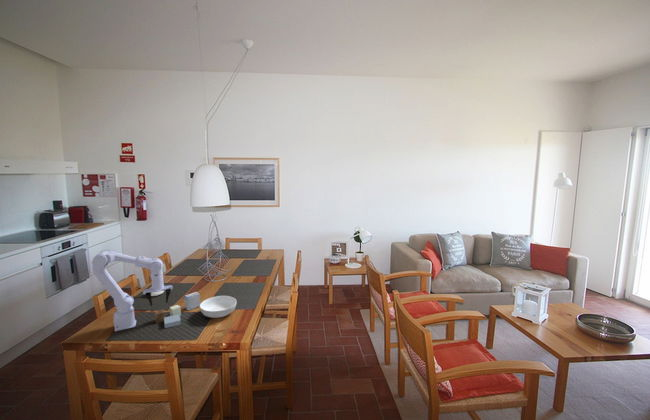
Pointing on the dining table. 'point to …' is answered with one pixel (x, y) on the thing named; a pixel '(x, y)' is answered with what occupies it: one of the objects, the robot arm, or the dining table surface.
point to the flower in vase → (156, 292)
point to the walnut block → (159, 316)
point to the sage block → (175, 310)
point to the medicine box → (192, 300)
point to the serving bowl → (218, 306)
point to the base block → (172, 321)
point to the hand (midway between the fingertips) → (159, 303)
